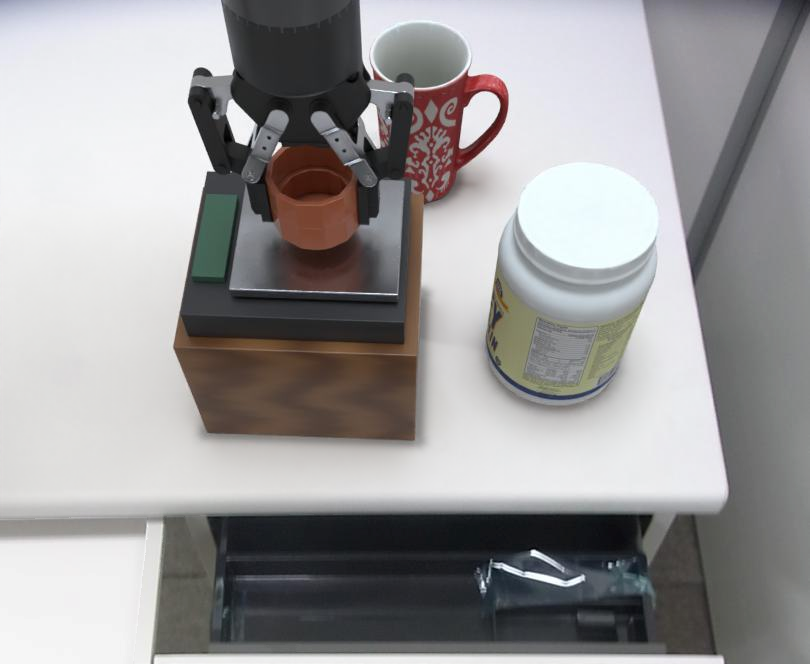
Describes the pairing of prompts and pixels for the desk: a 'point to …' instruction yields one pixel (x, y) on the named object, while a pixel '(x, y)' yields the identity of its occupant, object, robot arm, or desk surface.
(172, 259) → the desk surface
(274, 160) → the bowl
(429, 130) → the mug
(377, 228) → the scale pan
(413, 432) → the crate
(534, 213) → the supplement tub
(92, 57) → the desk surface
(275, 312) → the scale
